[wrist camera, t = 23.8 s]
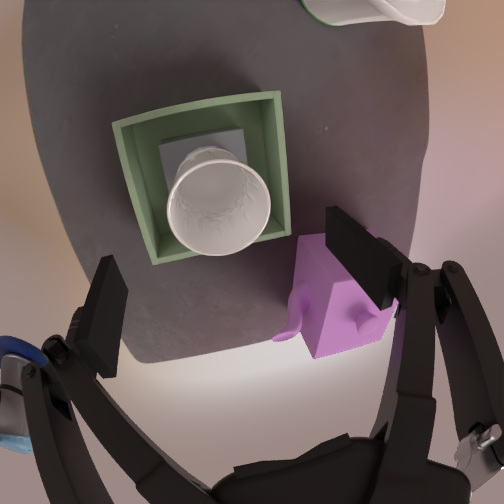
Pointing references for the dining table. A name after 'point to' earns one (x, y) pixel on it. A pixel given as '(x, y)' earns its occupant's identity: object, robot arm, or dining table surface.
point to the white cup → (217, 202)
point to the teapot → (329, 303)
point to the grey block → (180, 146)
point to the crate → (191, 121)
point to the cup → (375, 11)
